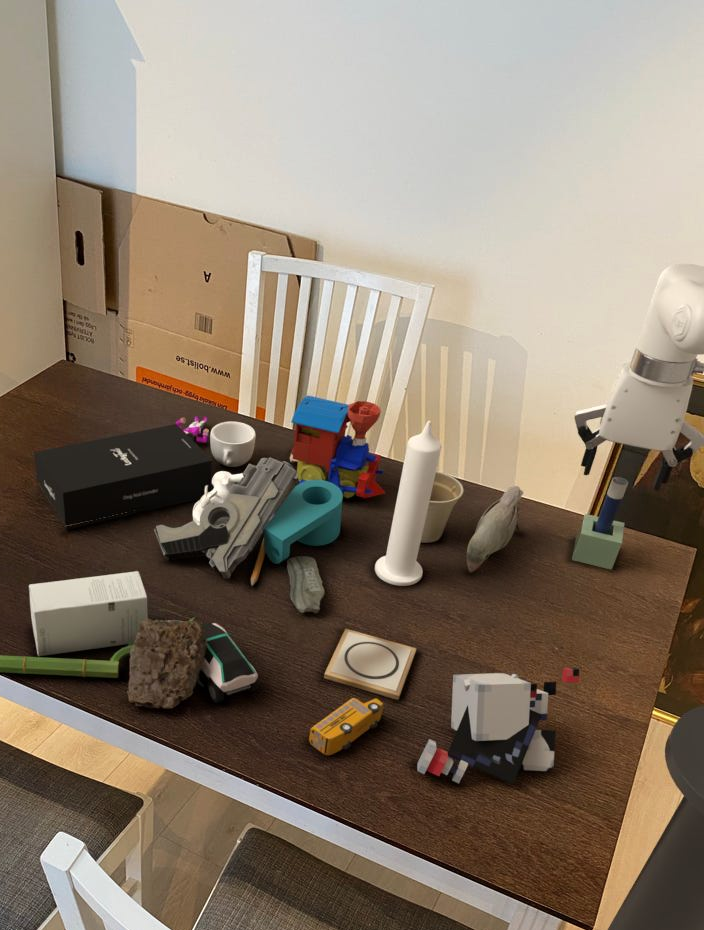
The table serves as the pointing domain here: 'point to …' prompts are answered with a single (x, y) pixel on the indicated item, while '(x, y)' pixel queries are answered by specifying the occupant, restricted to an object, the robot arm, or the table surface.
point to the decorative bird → (494, 528)
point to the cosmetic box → (87, 612)
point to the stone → (305, 584)
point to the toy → (496, 727)
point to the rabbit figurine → (216, 494)
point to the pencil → (258, 563)
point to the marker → (611, 505)
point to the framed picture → (370, 664)
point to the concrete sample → (165, 662)
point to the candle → (410, 511)
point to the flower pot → (440, 505)
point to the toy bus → (345, 725)
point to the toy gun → (232, 519)
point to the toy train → (336, 445)
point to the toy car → (225, 665)
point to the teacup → (232, 443)
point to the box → (123, 475)
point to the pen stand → (597, 543)
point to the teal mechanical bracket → (304, 519)
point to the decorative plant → (67, 665)
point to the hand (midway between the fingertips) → (621, 478)
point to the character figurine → (195, 429)
